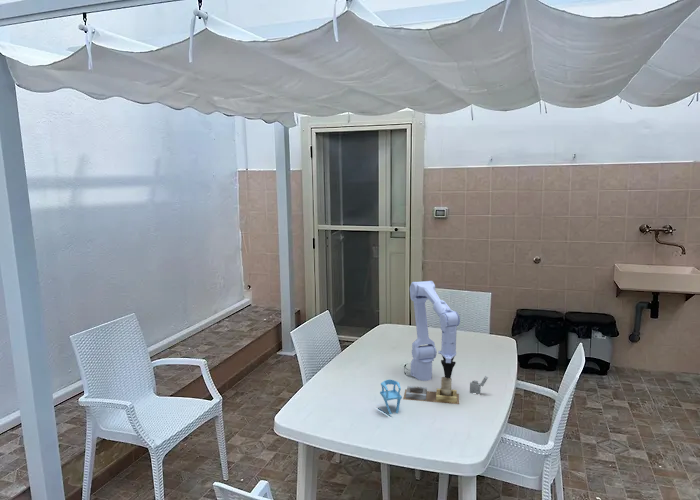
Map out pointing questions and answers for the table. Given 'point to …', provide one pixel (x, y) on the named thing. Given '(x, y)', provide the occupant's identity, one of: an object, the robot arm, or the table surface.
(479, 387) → the lighter
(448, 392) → the beige cylinder
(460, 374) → the table surface
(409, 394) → the dock
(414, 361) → the robot arm
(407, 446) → the table surface
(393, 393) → the chair
